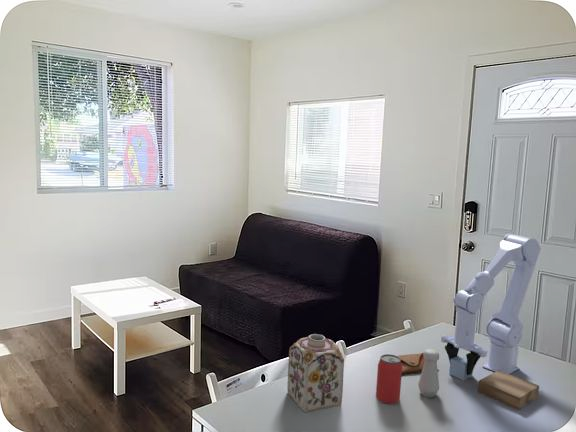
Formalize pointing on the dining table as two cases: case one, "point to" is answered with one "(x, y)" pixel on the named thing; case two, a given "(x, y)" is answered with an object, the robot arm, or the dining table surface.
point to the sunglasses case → (412, 363)
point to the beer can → (389, 379)
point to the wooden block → (508, 389)
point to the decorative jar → (315, 373)
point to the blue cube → (459, 367)
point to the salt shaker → (429, 374)
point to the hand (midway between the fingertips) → (461, 370)
